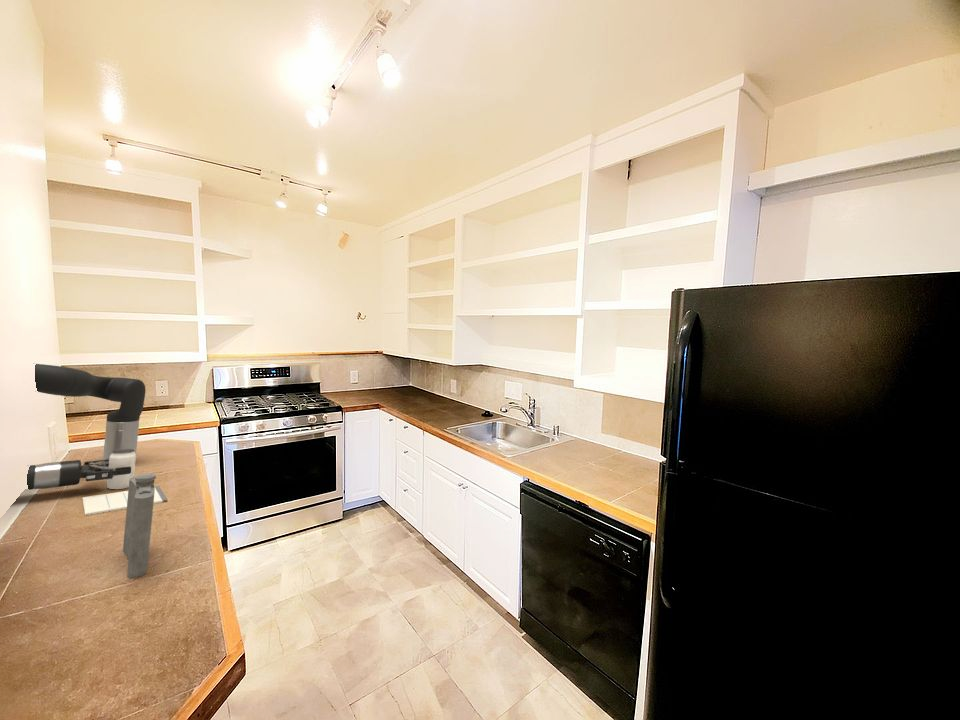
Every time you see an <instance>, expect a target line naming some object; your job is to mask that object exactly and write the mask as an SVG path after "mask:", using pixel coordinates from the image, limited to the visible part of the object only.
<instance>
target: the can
mask: <svg viewBox="0 0 960 720" xmlns="http://www.w3.org/2000/svg"><path fill="white" fill-rule="evenodd" d="M134 451H135V450H134V449H119V450H114V451H112V454H111V455H110V458H109V467H108V468H122V467H131V473H130V474H124V475H115V476H114V477H113V478H112V479H106V488H107V489H108V488H109V489H108V490H110V489H116V490H115V491H117V490H118V489H120V490H125V488H126V489H129V479H130V478H133V477H135V470H136V461H135V460H136V459H137V453H136V454H135V452H134ZM118 491H119V490H118Z"/></svg>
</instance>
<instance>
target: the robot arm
mask: <svg viewBox="0 0 960 720" xmlns="http://www.w3.org/2000/svg"><path fill="white" fill-rule="evenodd" d="M35 364H36V365H35V382H36V388H37V391H38V392H37V393H42V394H47V395H53V396H61V397H71V398H72V397H74V398H75V397H78V398H79V397H94V398H98V399H103V400H107V401H110V402H114V403H115V402H116V403H120V406H119V409H116V410H113V411H110V412H108V413H107V414H106V423H105V433H104V434H105V435H104V445H103V455H102V459H99V460H90V461H88V460H87V461H84V462H83V465H82V462H81V460H79V459H73V460H64V461H53V462H52V461H51V462H45V463H39V464H32V465H30V464H29V465H30V467H29V470H28V474H27V485H28V489H29V490H28V491H31V490H40V489H41V490H43V489H52V488H53V489H54V488H59V487H60V488H62V487H69V486H76V485H79V484H80V482H81V479H85V481H86V482H94V481H103V480H107V479H112V478H113V477H114V476H115V475H124V474H130V473H131V467H122V468H108V467H109V458H110V455H111V454H112V451H114V450H119V449H134V450H135V451H134V452H135V454H136V455H137V450H138V449H137V447H138V440H139V439H138V438H139V428H140V417H141V414H142V413H143V410H144V405H145V404H144V403H145V397H146V385H145V383H144V382H143V381H142V380H140V379H137V378H127V377H119V376H118V377H117V376H116V377H114V376H111V377H110V376H98V375H94V374H93V373H90V372H88V371H86V370H82V369H77V368H73V367H72V368H71V367H67V366H61V365H60V366H59V365H52V364H51V365H50V364H43V363H35ZM135 462H136V460H135Z"/></svg>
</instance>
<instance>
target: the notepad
mask: <svg viewBox="0 0 960 720" xmlns="http://www.w3.org/2000/svg"><path fill="white" fill-rule="evenodd" d="M154 487H155V492H154V503H153V505H156V504H161V503H168V498H167V497H166V495H165V493H164V491H163V490H162V488H161V486H160V485H154ZM127 500H128V490H125V491H124V490H123V491H117V492H116V491H115V492H111V493H105V494H104V493H103V494H96V495H88V496H83V497H82V505H83V506H82V507H83V511H84V512H83V513H84V516H85V517H86V515H87V516H91V514H92V515H98V514H104V513H108V512H109V511H110V512H115V511H116V512H117V511H120V510H121V509H122V510H127ZM103 512H104V513H103ZM110 512H109V513H110ZM97 513H98V514H97Z"/></svg>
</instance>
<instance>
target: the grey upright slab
mask: <svg viewBox="0 0 960 720" xmlns="http://www.w3.org/2000/svg"><path fill="white" fill-rule="evenodd" d="M156 477H157V475H156V474H155V473H143V474H139V475H136V476H134V477H133V478H130V479H129V488H128V490H127V491H128V500H127V509H126V513H125V522H124V523H125V524H124V535H123V544H122V546H123V547H122V552H123V554H124V555H125V556H126V558H127V560H128V562H127V563H128V564H127V574H126V577H127V578H131V579H135V578H140V577H142V576H144V575H145V574H146V573H147V570H148V566H149V565H148V563H149V553H150V546H151V545H150V544H151V543H150V542H151V534H152V523H153V513H154V512H153V511H154V504H153V503H154V492H155V485H154V484H155V480H156Z"/></svg>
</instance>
